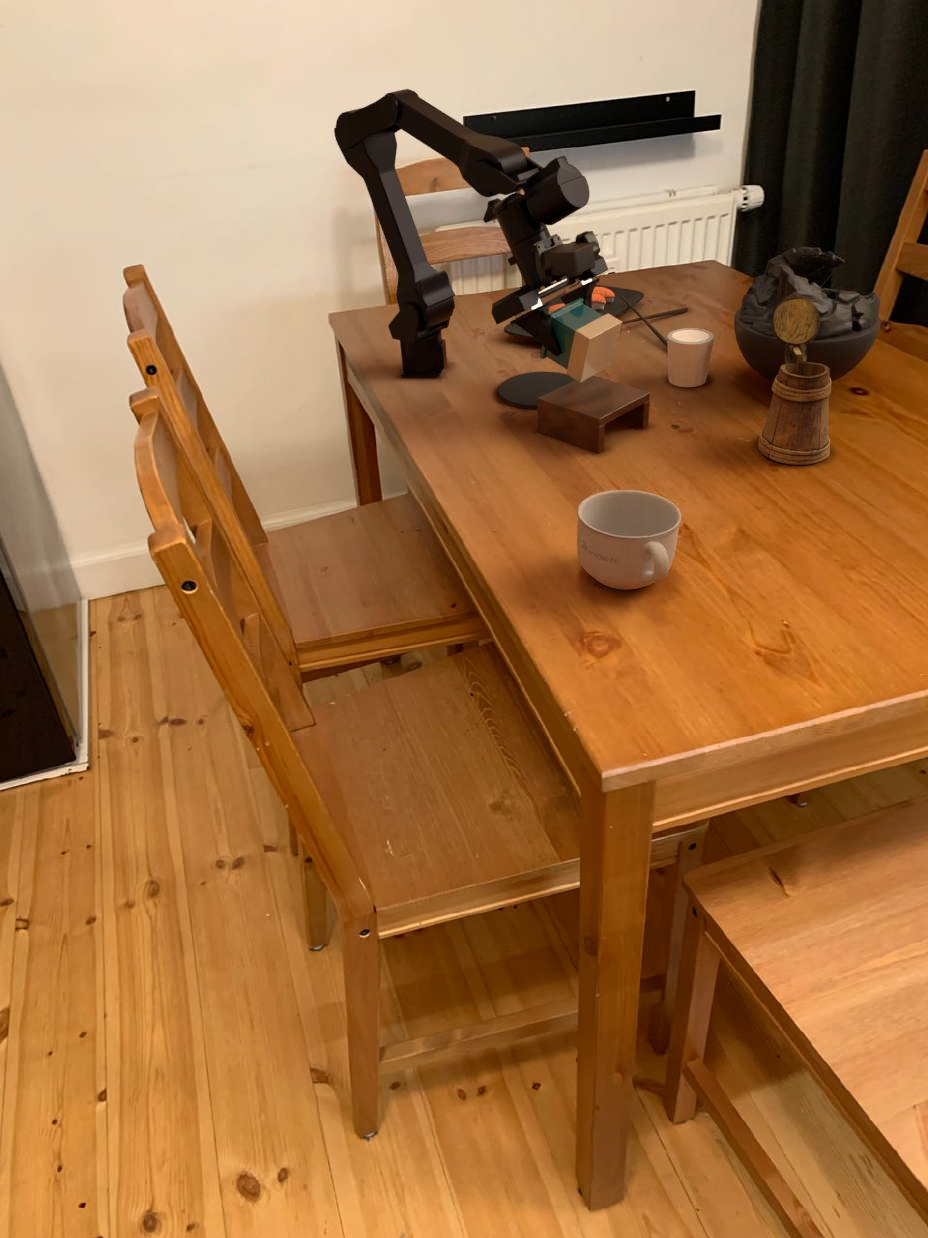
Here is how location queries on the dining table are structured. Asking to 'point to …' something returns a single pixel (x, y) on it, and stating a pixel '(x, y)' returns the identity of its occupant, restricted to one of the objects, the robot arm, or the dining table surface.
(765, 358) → the coal bowl
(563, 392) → the stand
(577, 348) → the teal rimmed box
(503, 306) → the robot arm
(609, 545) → the teacup
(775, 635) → the dining table surface
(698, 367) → the white cup
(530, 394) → the mat
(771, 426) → the wooden mug
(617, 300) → the sushi plate
